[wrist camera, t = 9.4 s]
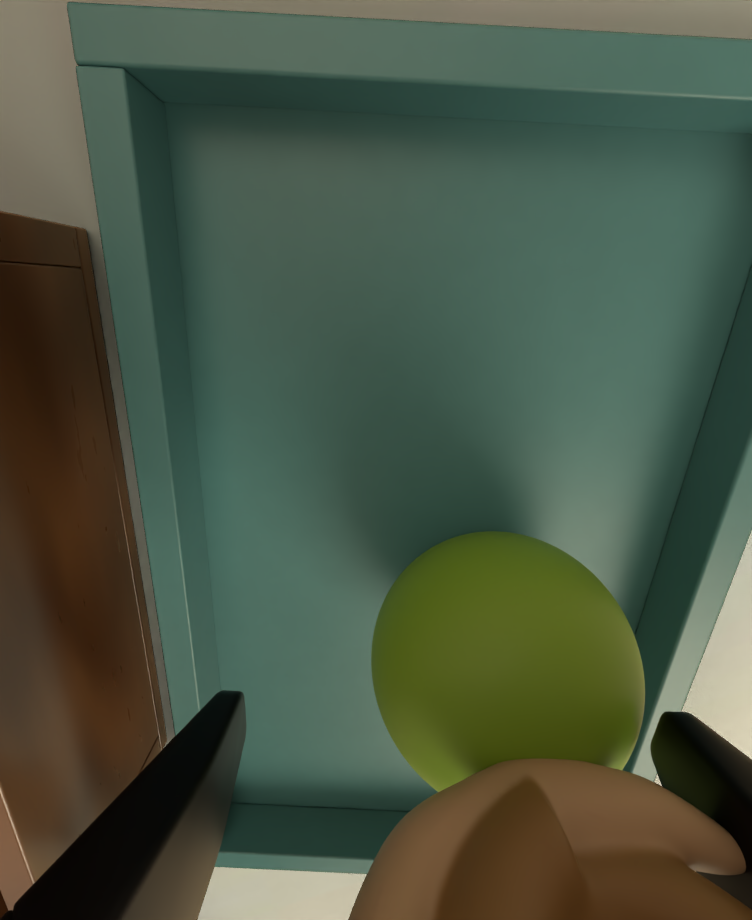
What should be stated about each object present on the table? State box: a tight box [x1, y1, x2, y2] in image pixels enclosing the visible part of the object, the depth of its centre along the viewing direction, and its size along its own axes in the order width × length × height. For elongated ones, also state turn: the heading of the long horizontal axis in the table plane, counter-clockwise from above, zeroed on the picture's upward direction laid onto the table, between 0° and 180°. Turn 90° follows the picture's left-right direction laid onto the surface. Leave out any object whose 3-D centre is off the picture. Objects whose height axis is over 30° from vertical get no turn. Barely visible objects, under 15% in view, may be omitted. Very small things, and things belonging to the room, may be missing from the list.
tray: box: [67, 2, 752, 874], centre depth 12 cm, size 22×14×2 cm, turn 177°
